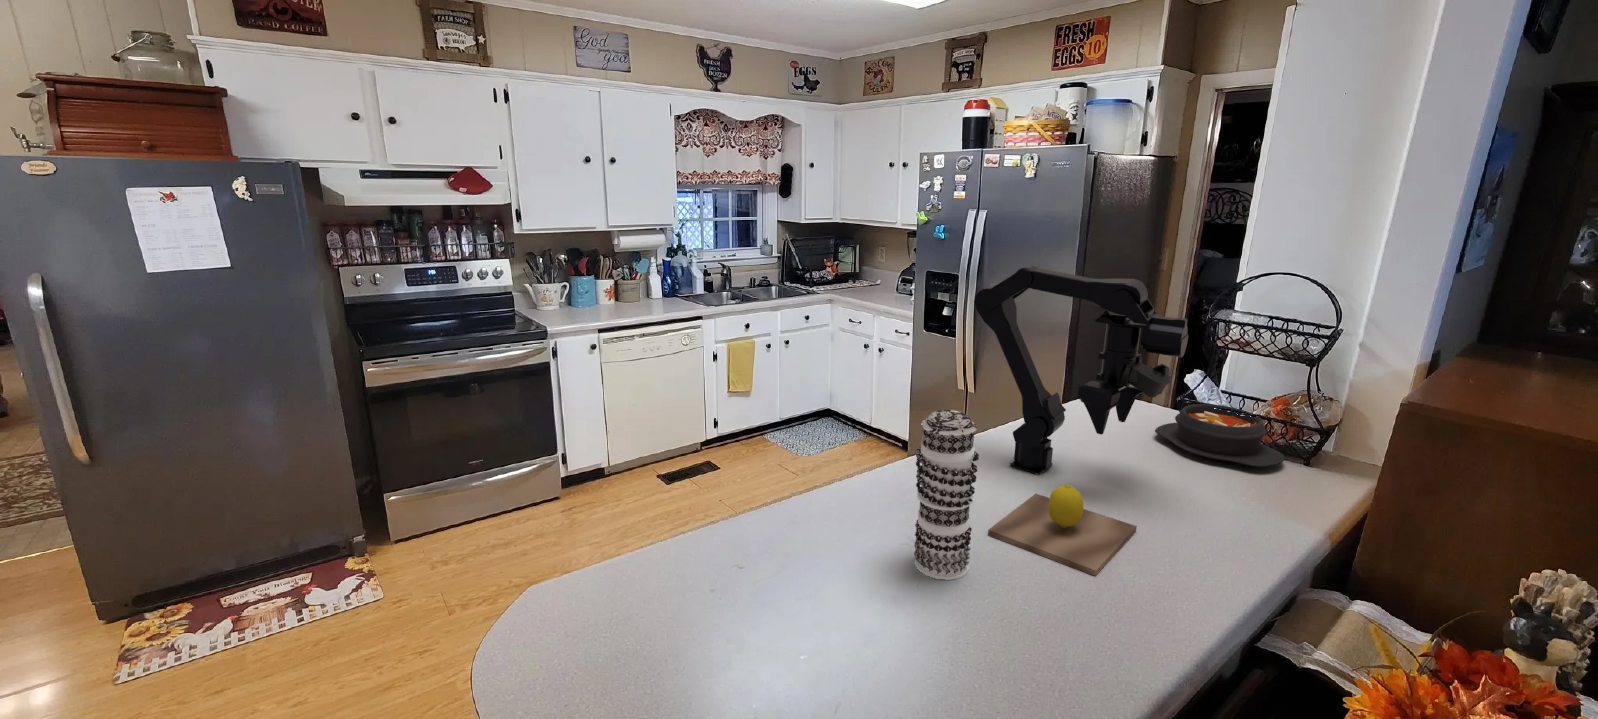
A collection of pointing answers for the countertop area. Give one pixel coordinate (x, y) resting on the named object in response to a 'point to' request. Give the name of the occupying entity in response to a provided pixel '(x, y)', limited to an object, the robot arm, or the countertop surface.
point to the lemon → (1065, 506)
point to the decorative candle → (945, 494)
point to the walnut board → (1064, 535)
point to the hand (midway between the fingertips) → (1111, 427)
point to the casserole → (1221, 435)
